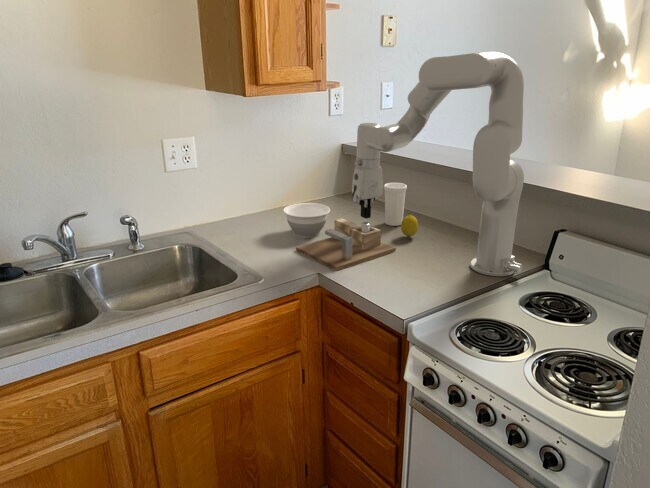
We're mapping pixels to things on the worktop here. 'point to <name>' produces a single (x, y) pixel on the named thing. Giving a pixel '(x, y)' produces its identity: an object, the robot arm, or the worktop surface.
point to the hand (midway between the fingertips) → (365, 217)
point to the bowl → (306, 218)
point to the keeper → (345, 242)
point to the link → (358, 234)
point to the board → (332, 253)
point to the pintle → (365, 227)
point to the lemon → (409, 225)
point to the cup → (394, 203)
